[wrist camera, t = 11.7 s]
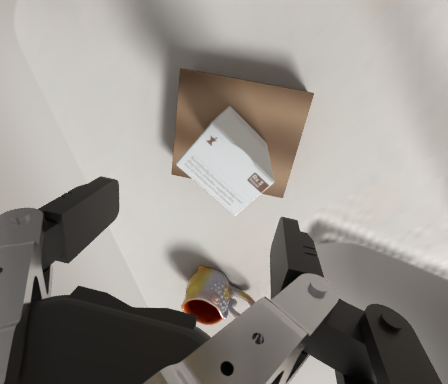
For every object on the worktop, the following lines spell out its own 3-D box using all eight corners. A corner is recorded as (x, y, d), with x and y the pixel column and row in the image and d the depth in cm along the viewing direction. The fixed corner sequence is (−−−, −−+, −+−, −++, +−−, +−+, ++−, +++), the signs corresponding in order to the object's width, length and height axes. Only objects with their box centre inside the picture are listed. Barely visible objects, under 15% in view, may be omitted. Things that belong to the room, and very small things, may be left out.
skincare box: (204, 133, 28) (167, 165, 18) (231, 102, 27) (208, 117, 16) (243, 169, 30) (231, 221, 19) (271, 142, 28) (276, 182, 17)
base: (190, 70, 30) (180, 68, 26) (307, 91, 29) (314, 93, 25) (181, 164, 35) (171, 174, 31) (280, 185, 34) (282, 198, 30)
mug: (187, 287, 44) (174, 320, 38) (196, 259, 41) (184, 289, 35) (251, 309, 44) (249, 346, 38) (265, 282, 41) (265, 317, 35)
